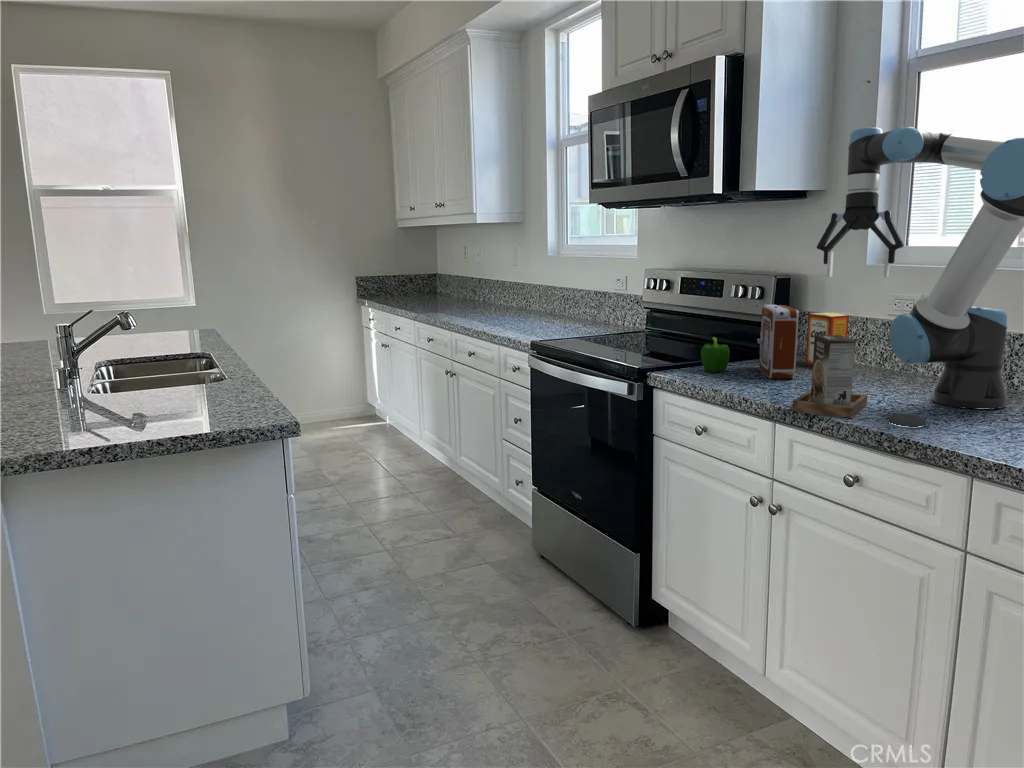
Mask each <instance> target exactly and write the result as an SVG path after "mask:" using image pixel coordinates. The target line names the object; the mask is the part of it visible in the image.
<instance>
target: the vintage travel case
mask: <svg viewBox="0 0 1024 768" xmlns="http://www.w3.org/2000/svg"><path fill="white" fill-rule="evenodd" d="M799 317H800V312H799V310H798V309H795V308H793V307H791V306H790V305H789V306H788V305H783V304H779V305H777V304H763V306H762V309H761V324H760V326H761V327H760V335H759V336H760V338H757V339H756V340H757V344H759V362H758V363H759V366H758V367H759V370H760V372H761V373H762V374H763V375H765V377H767V378H768V379H769V380H792V379H794V378H795V375H796V373H795V372H796V363H797V362H796V361H797V352H798V347H799V343H798V330H799V329H798V328H799Z"/></svg>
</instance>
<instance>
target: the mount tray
mask: <svg viewBox="0 0 1024 768" xmlns="http://www.w3.org/2000/svg"><path fill="white" fill-rule="evenodd" d="M867 404H868V394H861V393H853V392H851V404H850V406H841V405H833V404H824V403H816V402H813V401H811V388H810V389H809V390H807V391H806V392H803V394H801V395H800V396H798V397H797V398H795V399H793V400H792V407H791V408H792V411H791V412H796V413H804V414H811V415H812V414H813V415H820V416H825V417H826V416H827V417H834V416H837V417H836V418H842V417H849V418H848V419H850V418H852V417H853V416H854V415H855V414H856V413H858V412H859V411H860V410H861V409H862V408H863V407H864V406H865V407H866V406H867ZM865 407H864V408H865ZM864 408H863V409H864ZM863 409H862V410H863ZM862 410H861V411H862ZM861 411H860V412H861ZM860 412H859V413H860ZM859 413H858V414H859ZM856 415H857V414H856ZM856 415H855V416H856ZM855 416H854V417H855ZM854 417H853V418H854ZM853 418H852V419H853Z"/></svg>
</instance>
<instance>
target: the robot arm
mask: <svg viewBox="0 0 1024 768" xmlns="http://www.w3.org/2000/svg"><path fill="white" fill-rule="evenodd" d="M847 149H848V155H847V176H846V177H847V178H846V188H845V189H846V192H847V194H846V196H845V206H844V207H845V209H844V213H836V212H833V213H831V217H830V222H829V223H828V226H827V227H826V229H825V231H824V233H823V234H822V236H821V237H820V240H819V242H818V243H817V245H816V249H818V250H820V251H823V265H827V266H826V267H827V268H826V278H833V271H834V269H833V267H834V251H832V250H833V249H834V247H836V246H837V244H839V242H840V241H841V240H842V239H843V238H844V237H845V235H847V234H848V233H849V232H850V230H853V231H859V230H864V231H865V230H866V231H867V230H869V229H870V230H871V231H872V232H873V233H874V234H875V235H876V236H877V237H878V239H879V240H880V241H881V242H882V243H883V244H884V245H885V246H886V247H887V249H888V250H884V263H883V264H884V266H883V276H882V277H884V278H889V276H890V265H891V264H894V263H895V261H896V260H895V258H896V257H895V256H896V251H897V250H898V249H901V248H904V245H905V244H904V242H903V240H902V238H901V236H900V234H899V232H898V230H897V227H896V225H895V223H894V221H893V220H892V218H893V217H892V211H891V210H885V211H879V209H878V208H879V197H880V196H879V193H878V191H879V190H880V182H881V181H880V179H881V166H883V165H884V166H885V165H890V164H908V163H909V164H911V163H912V164H913V163H915V164H918V163H919V164H922V163H924V164H925V163H926V164H927V163H930V164H940V165H946V166H953V167H958V168H959V167H960V168H965V169H970V170H976V171H979V172H980V173H979V174H980V176H981V178H980V179H979V183H980V188H981V191H980V194H979V195H980V198H981V201H982V206H981V207H980V209H979V211H978V212H977V213H976V216H975V217H974V219H973V221H972V223H971V224H970V225H969V228H968V229H967V231H966V233H965V234H964V236H963V238H962V239H961V241H960V242H959V244H958V246H957V248H956V249H955V251H954V253H953V254H952V256H951V258H950V259H949V261H948V262H947V264H946V266H945V267H944V269H943V271H942V273H940V276H939V277H938V279H937V281H936V283H935V284H934V286H933V288H932V289H931V291H930V293H929V294H928V295H927V296H926V295H925V296H922V297H920V298H919V299H917V300H916V302H915V304H914V305H913V307H912V308H911V310H910V312H908V313H907V312H906V313H905V312H904V313H902V314H899V315H897V316H895V318H893V319H892V321H891V323H890V327H889V331H888V339H889V342H890V343H889V345H890V347H891V350H892V352H893V353H894V355H895V356H896V358H898V359H899V360H900V361H901V362H903V363H905V364H910V365H925V364H935V363H936V364H937V363H938V364H939V363H944V366H943V370H942V372H941V374H940V376H939V378H938V380H937V383H936V385H935V386H934V389H933V394H932V401H933V402H934V403H937V404H940V405H943V404H944V405H943V406H947V405H949V407H952V406H955V407H954V408H958V407H965V408H964V409H966V408H999V407H1003V406H1005V405H1006V406H1007V401H1008V395H1007V391H1006V389H1005V383H1004V380H1003V375H1002V367H1003V366H1002V365H1003V359H1004V353H1005V344H1006V336H1007V330H1008V325H1007V323H1008V322H1007V321H1008V314H1007V312H1005V310H1002V309H997V308H990V307H981V306H980V307H979V306H974V303H975V302H976V300H977V299H978V297H979V296H980V294H981V293H982V291H983V289H984V288H985V287H986V285H987V284H988V282H989V280H990V279H991V277H992V276H993V275H994V273H995V271H996V269H997V268H998V267H999V265H1000V264H1001V262H1002V261H1003V259H1004V257H1005V256H1006V254H1007V253H1008V252H1009V250H1010V248H1011V247H1012V246H1013V244H1014V242H1015V241H1016V240H1017V238H1018V236H1019V235H1020V233H1021V231H1022V230H1023V229H1024V136H1017V137H1013V138H1010V137H1004V136H994V135H985V134H976V133H968V132H963V131H959V130H952V129H951V130H950V129H944V130H926V129H923V130H921V129H920V130H918V129H917V128H915V127H913V126H907V127H898V128H895V129H893V130H889V131H885V132H883V130H882V128H880V127H863V128H857V129H854V130H852V131H851V132H850V136H849V143H848V147H847ZM879 218H881V219H882V220H883V221H884V222H885V224H886V227H887V228H888V232H889V233H890V234H891V237H892V239H893V241H894V243H893V242H892V241H891V240H890V239H889V237H888V236H887V235H886V234H885V233H884V231H882V229H880V227H879V226H878V224H877V223H876V222H877V220H879ZM842 220H843V221H844V222H845V224H844V225H843V226H842V227H841V229H840V230H839V231H838V232H837V233H836V234H835V235H834V237H833V238H832V239H830V238H831V236H832V234H833V232H834V231H835V228H836V227H837V225H838V223H839V222H841V221H842ZM829 239H830V241H829ZM828 241H829V242H828ZM1006 406H1005V407H1006Z"/></svg>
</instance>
